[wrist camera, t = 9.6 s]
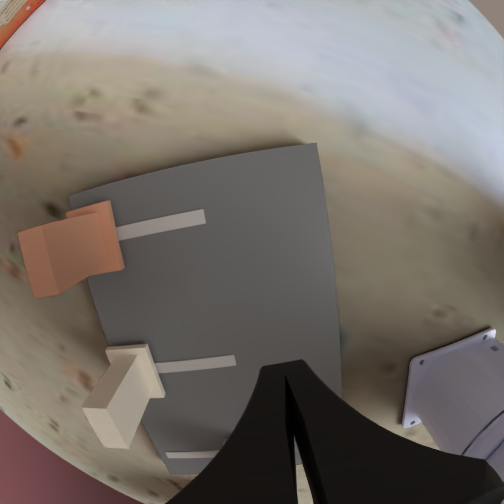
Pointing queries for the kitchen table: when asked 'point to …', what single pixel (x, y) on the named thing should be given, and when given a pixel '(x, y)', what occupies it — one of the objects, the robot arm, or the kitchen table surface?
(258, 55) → the kitchen table surface
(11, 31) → the cracker box
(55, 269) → the terracotta paddle
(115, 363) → the cream upright block
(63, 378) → the kitchen table surface
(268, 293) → the switch panel
